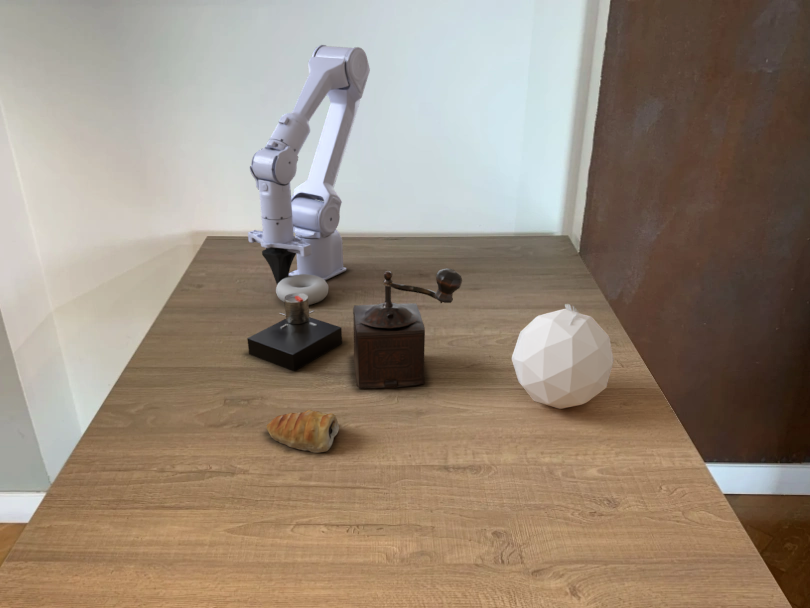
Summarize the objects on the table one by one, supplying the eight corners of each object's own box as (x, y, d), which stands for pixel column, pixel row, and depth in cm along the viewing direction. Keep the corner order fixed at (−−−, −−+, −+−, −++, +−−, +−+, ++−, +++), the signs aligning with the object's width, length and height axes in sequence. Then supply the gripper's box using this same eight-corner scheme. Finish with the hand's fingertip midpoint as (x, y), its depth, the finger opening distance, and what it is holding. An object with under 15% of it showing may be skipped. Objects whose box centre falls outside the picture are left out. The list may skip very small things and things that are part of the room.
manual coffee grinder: (356, 391, 111) (353, 279, 102) (352, 357, 120) (349, 251, 112) (459, 386, 112) (465, 274, 103) (447, 352, 122) (451, 247, 113)
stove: (297, 321, 133) (295, 305, 131) (350, 338, 126) (349, 321, 125) (239, 350, 123) (237, 333, 121) (294, 371, 116) (293, 353, 115)
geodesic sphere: (504, 329, 115) (515, 282, 102) (597, 330, 115) (621, 283, 101) (507, 420, 109) (519, 383, 96) (605, 422, 109) (632, 385, 95)
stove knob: (281, 318, 127) (279, 294, 125) (302, 312, 129) (301, 289, 126) (292, 326, 124) (291, 302, 122) (313, 320, 126) (312, 297, 124)
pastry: (260, 447, 98) (258, 423, 96) (277, 420, 104) (275, 397, 102) (329, 456, 97) (327, 431, 95) (342, 428, 102) (341, 404, 100)
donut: (322, 310, 137) (334, 288, 145) (321, 293, 135) (333, 272, 144) (270, 307, 138) (284, 285, 147) (268, 290, 137) (283, 269, 145)
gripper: (233, 213, 139) (240, 281, 145) (291, 228, 131) (295, 299, 138) (260, 205, 144) (266, 271, 150) (317, 218, 136) (320, 287, 143)
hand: (282, 283), depth 144 cm, fingers closed
